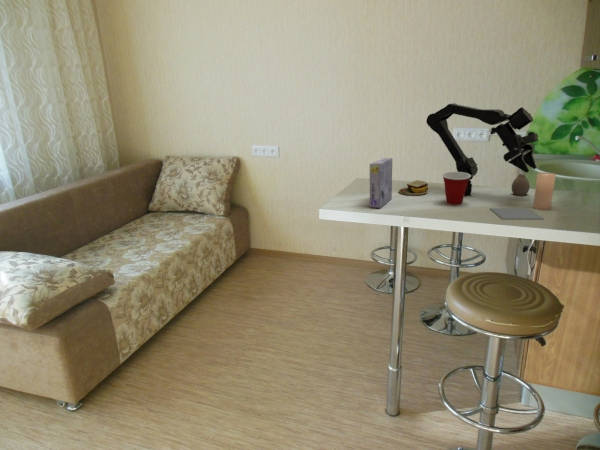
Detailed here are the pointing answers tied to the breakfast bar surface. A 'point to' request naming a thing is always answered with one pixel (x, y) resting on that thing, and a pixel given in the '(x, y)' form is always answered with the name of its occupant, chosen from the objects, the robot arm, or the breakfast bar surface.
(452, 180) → the plastic cup
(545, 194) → the terracotta canister
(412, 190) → the toy sandwich meal
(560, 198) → the breakfast bar surface
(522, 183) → the vase
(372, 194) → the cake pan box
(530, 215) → the pad
